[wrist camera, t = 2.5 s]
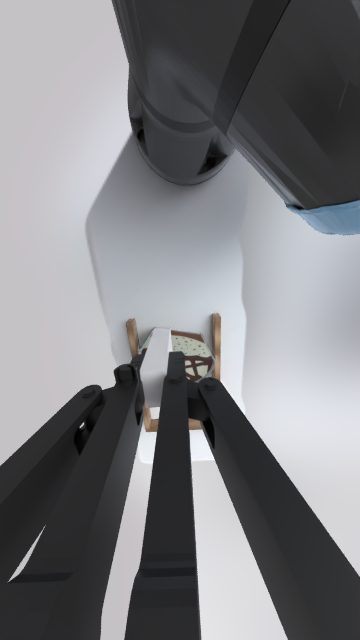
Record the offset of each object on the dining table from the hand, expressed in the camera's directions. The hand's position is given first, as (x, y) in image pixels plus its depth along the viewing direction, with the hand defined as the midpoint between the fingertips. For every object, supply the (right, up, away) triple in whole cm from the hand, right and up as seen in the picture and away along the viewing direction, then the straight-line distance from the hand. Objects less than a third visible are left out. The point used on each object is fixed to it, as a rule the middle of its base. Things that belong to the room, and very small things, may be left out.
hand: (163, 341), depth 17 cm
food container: (+1, -3, +20) cm, 20 cm away
